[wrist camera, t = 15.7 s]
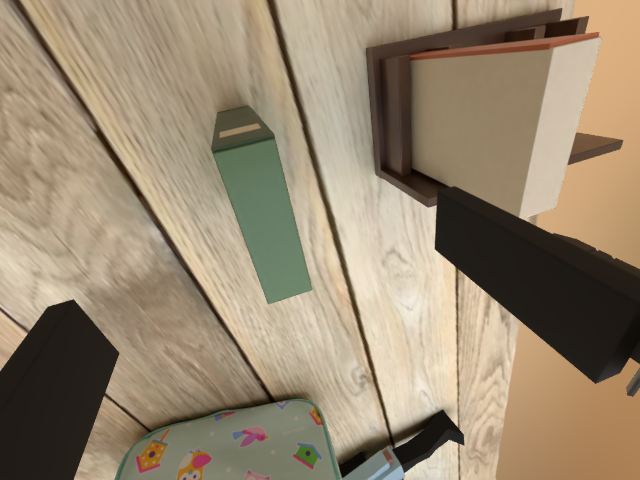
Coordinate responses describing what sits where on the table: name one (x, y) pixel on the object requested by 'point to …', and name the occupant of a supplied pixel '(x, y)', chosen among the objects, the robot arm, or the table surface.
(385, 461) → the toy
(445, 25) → the table surface
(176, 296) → the table surface
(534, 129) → the cream book
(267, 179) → the green book
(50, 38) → the table surface
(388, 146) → the book rack
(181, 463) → the lunch box
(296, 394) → the table surface
